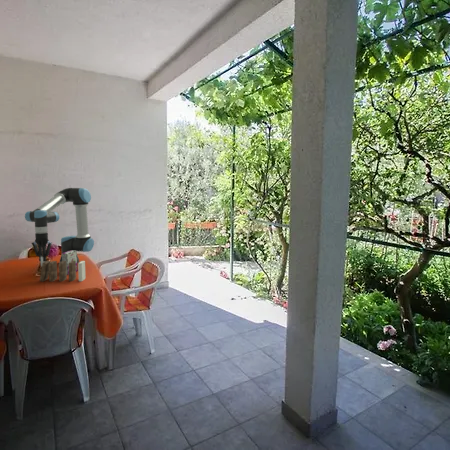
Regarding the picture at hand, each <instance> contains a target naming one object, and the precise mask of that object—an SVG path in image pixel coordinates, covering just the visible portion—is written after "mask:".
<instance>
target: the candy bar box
mask: <svg viewBox="0 0 450 450" xmlns="http://www.w3.org/2000/svg"><path fill="white" fill-rule="evenodd" d="M77 252H78V251H73V250H72V251H68V252H65V253H62V252H61V255H62V261H66V272H67V276H69V267H68V263H70V262H71V261H76V272H78V263H77V256H78V254H77Z"/></svg>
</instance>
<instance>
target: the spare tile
mask: <svg viewBox="0 0 450 450" xmlns="http://www.w3.org/2000/svg"><path fill="white" fill-rule="evenodd" d="M77 269H78V271H77V272H78V274H77V275H78V282H83V281H85V279H86V261H85V260H80V261H79V262H78V263H77Z"/></svg>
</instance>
